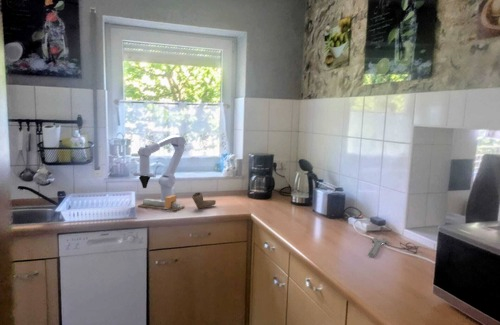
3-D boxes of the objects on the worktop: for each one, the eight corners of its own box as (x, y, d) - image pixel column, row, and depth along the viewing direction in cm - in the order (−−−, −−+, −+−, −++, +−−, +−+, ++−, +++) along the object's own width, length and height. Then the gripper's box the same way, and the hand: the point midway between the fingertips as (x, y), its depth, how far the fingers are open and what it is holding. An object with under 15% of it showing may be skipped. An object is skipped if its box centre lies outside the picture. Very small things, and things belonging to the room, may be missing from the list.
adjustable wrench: (374, 259, 140) (374, 255, 140) (358, 255, 144) (358, 251, 143) (388, 242, 161) (389, 238, 160) (374, 239, 164) (374, 235, 164)
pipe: (218, 206, 216) (218, 191, 215) (195, 210, 205) (196, 194, 203) (212, 204, 221) (212, 189, 219) (189, 208, 209) (190, 192, 208)
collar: (164, 207, 205) (164, 197, 204) (171, 204, 212) (171, 195, 211) (169, 208, 204) (169, 198, 203) (176, 205, 211) (176, 195, 210)
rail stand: (138, 206, 209) (138, 200, 209) (147, 203, 219) (147, 197, 218) (175, 211, 201) (175, 204, 201) (184, 207, 211) (184, 201, 210)
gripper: (130, 166, 212) (130, 188, 213) (151, 167, 208) (151, 190, 209) (137, 164, 219) (137, 186, 220) (157, 166, 214) (157, 188, 216)
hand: (144, 187), depth 215 cm, fingers closed
